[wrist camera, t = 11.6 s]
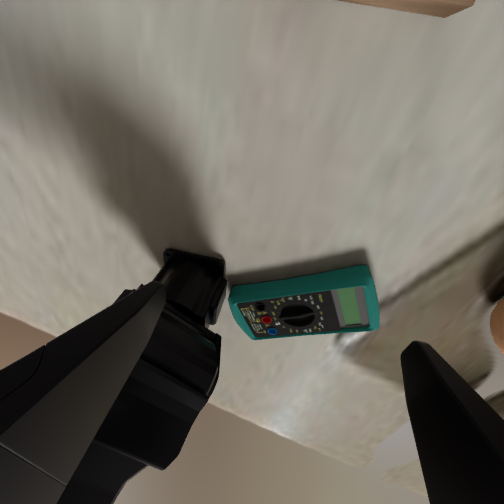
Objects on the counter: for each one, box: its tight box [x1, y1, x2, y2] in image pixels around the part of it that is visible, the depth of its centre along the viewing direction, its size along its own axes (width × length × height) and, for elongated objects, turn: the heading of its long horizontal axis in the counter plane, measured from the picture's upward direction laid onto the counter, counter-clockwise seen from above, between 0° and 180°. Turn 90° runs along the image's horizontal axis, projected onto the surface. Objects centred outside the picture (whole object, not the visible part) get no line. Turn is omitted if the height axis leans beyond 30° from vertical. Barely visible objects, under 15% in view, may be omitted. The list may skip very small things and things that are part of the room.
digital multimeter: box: [228, 265, 380, 340], centre depth 25 cm, size 7×15×3 cm, turn 111°
